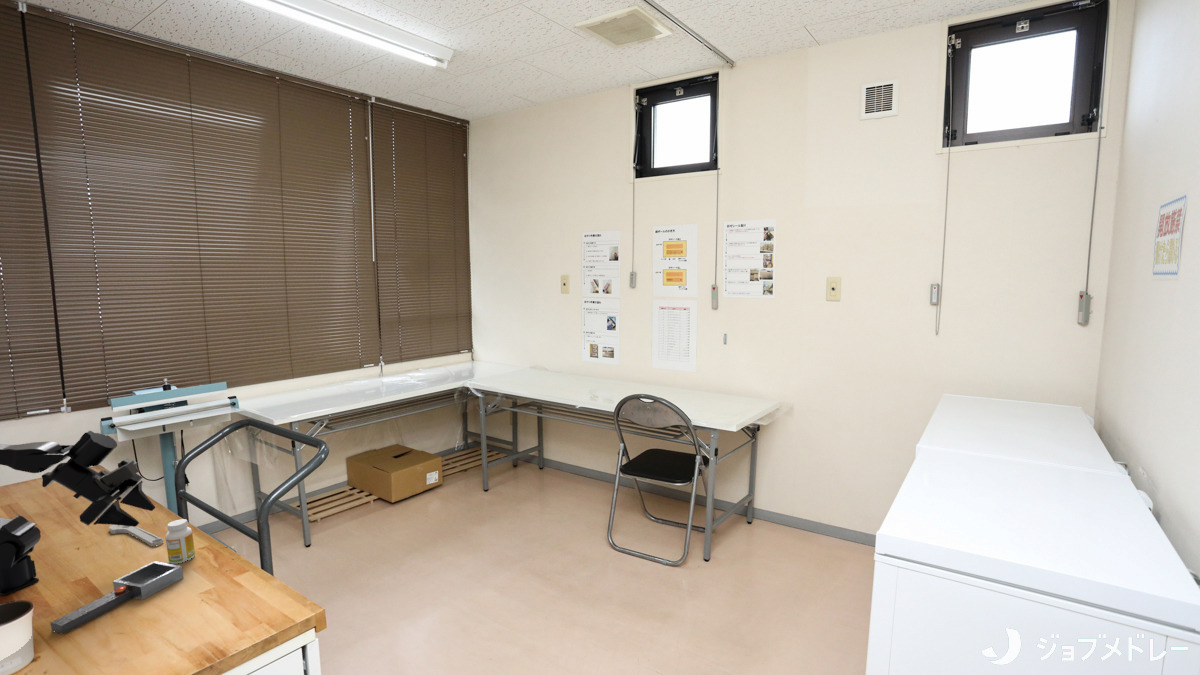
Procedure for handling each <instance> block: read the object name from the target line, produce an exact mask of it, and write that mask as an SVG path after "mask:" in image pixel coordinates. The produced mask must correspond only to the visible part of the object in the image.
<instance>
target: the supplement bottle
mask: <svg viewBox="0 0 1200 675" xmlns="http://www.w3.org/2000/svg"><path fill="white" fill-rule="evenodd" d="M193 536H194V535H193V531H192V528H191V527H189V523H188V520H187V519H186V518H185V519H184V518H181V519H176V520H172V521H170V522H169V523H168V524H167V533H165V543H166V544H165V546H166V550H167V551H166V552H167V557H168V558H167V559H168V564H173V565H179V564H183V563H186V562H188V561H190V560H192V559H193V558H195V556H196V553H195V551H196V549H195V544H194V537H193ZM194 555H195V556H194ZM191 558H192V559H191ZM187 560H188V561H187ZM185 561H186V562H185ZM182 562H183V563H182ZM178 563H179V564H178Z"/></svg>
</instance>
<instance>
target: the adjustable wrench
mask: <svg viewBox="0 0 1200 675" xmlns="http://www.w3.org/2000/svg"><path fill="white" fill-rule="evenodd" d="M135 519H136V520H137V521H138V519H137V518H135ZM108 527H109V532H110V534H111V535H117V534H127V533H129V534H128V535H130V534H131V535H133V536H135V537H137V538H139V539H141V540H142V541H141V540H140V541H141V542H143V541H144V542H146V543H148V544H150V545H152V546H156V545H159V546H161V545H160V544H162V543H163V542H164V538H163V537H160V536H157V535H156V534H154V533H152V532H149V531H147V530H145V529H142V528H141V527H138V525H137V526H135V527H134V526H123V525H111V524H109V526H108ZM131 535H130V536H131ZM133 536H132V537H133ZM135 537H134V538H135ZM137 538H136V539H137ZM139 539H138V540H139ZM144 542H143V543H144ZM146 543H145V544H146ZM148 544H147V545H148ZM163 544H164V543H163ZM163 544H162V545H163ZM150 545H149V546H150ZM152 546H151V547H152ZM156 547H157V546H156Z"/></svg>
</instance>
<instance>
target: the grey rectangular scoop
mask: <svg viewBox="0 0 1200 675" xmlns="http://www.w3.org/2000/svg"><path fill="white" fill-rule="evenodd" d="M183 579H184V573H183V566H182V565H179V564H171V563H169V562H167V563H166V562H161V561H156V560H154V561H152V562H149V563H148V564H145V565H144V566H141V567H139V568H137V569H134V571H131V572H129V573H127V574H125V575H123V576H121V577H119V578H117V579H114V580H112V584H113V585H112V586H113V591H112V592H109V593H107V594H105V595H103V596H101V597H99V598H97V599H95V600H93V601H91V602H89V603H87V604H85V605H83V606H81V607H78V608H77V609H75V610H73V611H71V612H69V613H67V614H64V615H63V616H60V617H59V618H57V619H55V620H53V621H51V622H50V627H51V632H52V631H55V632H59V633H62V634H64V633H66V632H68V631H70V630H72V629H73V630H75V629H77V628H79V627H81V626H83V625H85V624H87V623H89V622H91V621H92V620H94V619H96V618H99V617H100V616H102V615H104V614H106V613H108V612H110V611H111V610H114V609H116V608H117V607H119V606H121V605H124V604H125V603H127V602H129V601H131V600H133V599H135V600H136V599H137V600H140V601H141V600H142V601H143V600H145V599H148V598H149V597H150V596H153V595H155V594H157V593H158V592H160V591H162V590H164V589H166V588H168V587H170V586H171V584H172V585H173V584H175V583H177V582H179V581H181V580H183ZM73 630H72V631H73ZM55 632H54V633H55ZM70 632H71V631H70ZM59 633H58V634H59ZM68 633H69V632H68ZM62 634H61V635H62ZM66 634H67V633H66ZM64 635H65V634H64Z"/></svg>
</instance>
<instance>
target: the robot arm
mask: <svg viewBox="0 0 1200 675" xmlns="http://www.w3.org/2000/svg"><path fill="white" fill-rule="evenodd" d="M117 447H118V443H117V441H116V440H115V439H114V438H113V437H112V436H110V435H108V434H107V435H105V434H103V433H101V432H100V433H99V432H94V431H93V430H87V431H86V432H84V433H83V434H82V435H81V437H80V438H79V440H77V442H75V444H60V443H58V442H56V441H52V440H51V441H36V442H27V443H21V444H20V443H19V444H4V443H3V444H2V443H1V444H0V466H1V465H2V466H6V467H8V468H11V469H12V470H15V471H20V472H24V473H25V472H26V473H30V474H37V473H38V474H39V473H42V472H44V471H47V469H50V468H51V467H54V466H55V465H56V466H55V468H54V469H52V470H51V471H48V472H46V473H43V474H42V475H41V478H42V482H41V483H42V484H41V485H42V487H43V488H46V487H48V486H49V485H51V484H52V483H54V482H56V483H57V484H59V485H61V486H62V487H64V488H66V489H68V490H70V491H71V492H73V493H75V494H74V495H73V496H72V497H73V498H74V499H79V498H80V497H83V498H84V499H86V500H87V501H89V502H91V503H90V504H89V505H88V506H87V507H86V509H85V510H84V511H83V512H81V514H79V520H80V522H81V523H83V524H85V525H86V526H88V527H89V526H90V525H91V524H93V525H119V526H121V525H123V526H134V527H135V526H137V527H138V525H139V524H140V521H139V520H138V519H137V518H135V517H133V516H132V515H131V514H129V513H128V512H127V511H125V510H124V509H123V508H121V505H120V504H124V505H127V506H131V507H135V508H139V509H142V510H145V511H151V512H152V511H154V510H155V509H156V506H155V504H153V502H152V501H151V500H150V499H149V498H148V496H147V495H146V494H145V492H144V491H143V487H142V486H143V483H144V482H143V480H142V479H143V476H141V475H139V474H138V473H140V471H141V470H140V469H139V468H138V465H139V463H138V462H137V461H136V462H135V461H134V460H133V459H132V460H131V459H129V458H126V459H123V460H121V461H120V462H119V463H117V468H115V469H114V470H112V471H109V472H108V471H107V470H101V471H96V470H95V469H93V468H91V467H98V466H100V464H101V463H102V462H104V460H105V459H106V458H107V457H108V456H109V455H110V454H111V453H112V452H113V451H114V450H116V448H117ZM68 458H69V459H68ZM66 459H68V460H67V461H66V462H63V461H64V460H66ZM136 519H137V520H136ZM94 521H95V522H94ZM37 525H38V524H37V523H35V522H32V521H30V520H28V519H26V517H24V516H22V515H17V516H15V517H13V518H12V519H10V518H3V517H0V596H7V595H10V594H12V593H14V592H17V591H18V590H21V589H23V588H25V587H28V586H31V585H33V584H35V583H37V582H39V581H40V579H39V578H38V577H37V576H38V575H37V570H36V564H35V560H34V559H32V556H31V555H29V554H30V553H33V552H34V549H35V546H36V545H38V544H39V542H40V540H41V537H42V536H41V532H42V531H41V529H39V528H38V526H37Z"/></svg>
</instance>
